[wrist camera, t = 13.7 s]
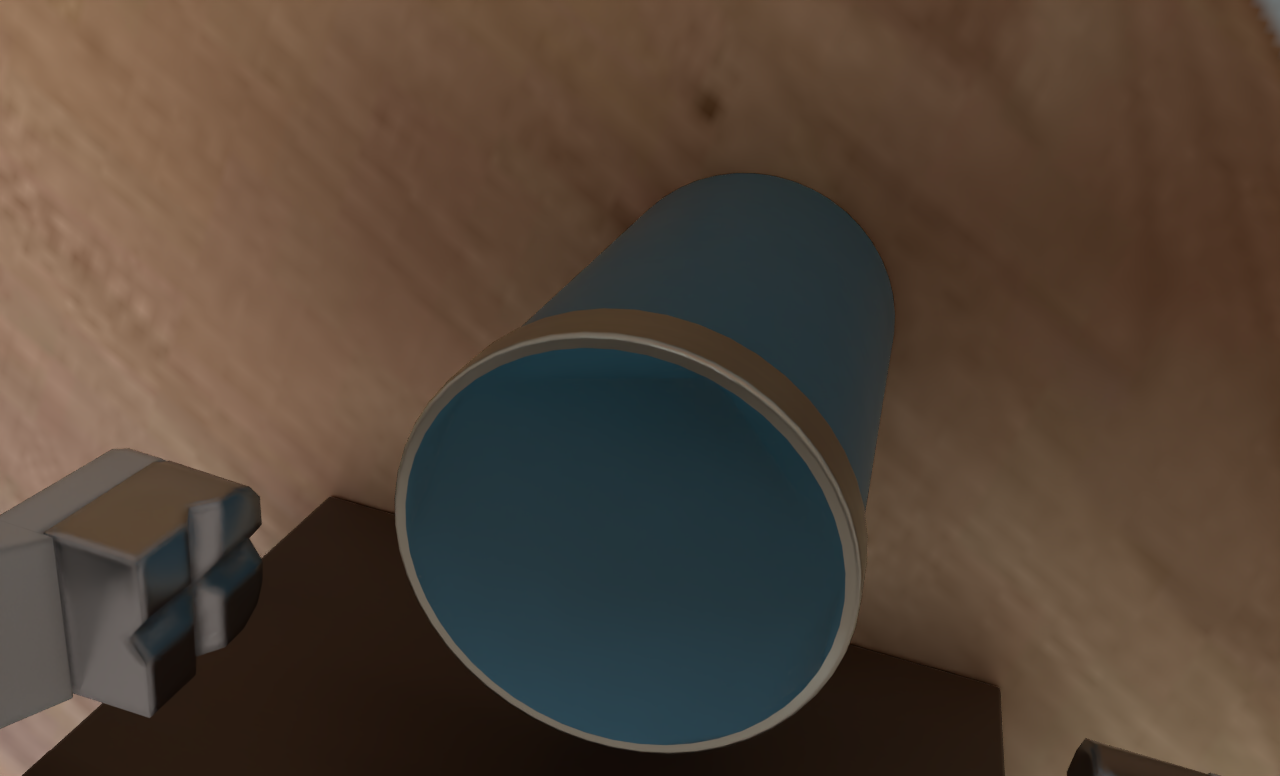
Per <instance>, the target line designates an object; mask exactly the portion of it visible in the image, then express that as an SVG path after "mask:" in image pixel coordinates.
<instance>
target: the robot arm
mask: <svg viewBox="0 0 1280 776" xmlns="http://www.w3.org/2000/svg"><path fill="white" fill-rule="evenodd" d="M261 525H262V522H261V508H260V497H259V496H258V495H257V494H256V493H255V492H254V491H253V490H252V489H251V488H250V487H249V486H246V485H243V484H240V483H236V482H233V481H230V480H227V479H224V478H221V477H218V476H215V475H212V474H209V473H206V472H203V471H200V470H197V469H194V468H190V467H187V466H184V465H181V464H178V463H175V462H172V461H166V460H163V459H161V458H158V457H155V456H152V455H149V454H145V453H142V452H139V451H136V450H133V449H129V448H127V449H112V450H110V451H108V452H107V453H105V454H103V455H101V456H100V457H98V458H96V459H95V460H93V461H91V462H90V463H88V464H86V465H84V466H83V467H81V468H79V469H78V470H76V471H74V472H73V473H71V474H69V475H67V476H66V477H64V478H62V479H61V480H59V481H57V482H56V483H54V484H52V485H51V486H49V487H47V488H45V489H44V490H42V491H40V492H39V493H37V494H35V495H34V496H32V497H30V498H28V499H27V500H25V501H23V502H22V503H20V504H18V505H17V506H15V507H13V508H11V509H10V510H8V511H6V512H5V513H3V514H1V515H0V729H1V728H3V727H6V726H8V725H10V724H13V723H15V722H17V721H20V720H22V719H24V718H27V717H29V716H31V715H34V714H36V713H38V712H41V711H43V710H45V709H48V708H50V707H52V706H55V705H57V704H60V703H62V702H64V701H67V700H69V699H71V698H72V697H73V693H74V694H77V695H80V696H83V697H86V698H90V699H93V700H96V701H99V702H102V703H105V704H108V705H111V706H114V707H117V708H120V709H123V710H127V711H130V712H133V713H136V714H139V715H142V716H145V717H148V718H151V717H152V716H153V715H154V714H155V713H156V712H157V711H158V710H159V709H160V708H161V707H162V706H163V705H164V704H165V703H167V702H168V701H169V700H170V699H171V698H172V697H173V696H174V695H175V694H176V693H177V692H178V691H179V690H180V689H181V688H183V687H184V686H185V685H186V684H187V683H188V682H189V681H190V680H191V679H192V678H193V677H194V676H195V675H196V669H197V656H200V655H203V654H206V653H209V652H212V651H215V650H218V649H221V648H224V647H226V646H227V645H228V644H229V643H230V642H231V641H232V640H233V639H234V638H235V637H236V636H237V635H238V634H239V633H240V632H241V631H242V630H243V629H244V627H245V626H246V624H247V622H248V620H249V618H250V617H251V615H252V613H253V611H254V609H255V607H256V606H257V604H258V600H259V596H260V591H261V587H262V582H263V561H262V559H261V558H260V556H259V554H258V553H257V551H256V549H255V548H254V546H253V544H252V543H251V541H250V539H249V538H250V537H251V536H252V535H253V534H254V532H255V531H256V530H257V529H258V528H259V527H260V526H261ZM1067 776H1220V775H1217V774H1213V773H1208V774H1205V773H1202V772H1199V771H1195V770H1192V769H1189V768H1185V767H1182V766H1178V765H1175V764H1172V763H1168V762H1165V761H1161V760H1158V759H1155V758H1151V757H1148V756H1145V755H1141V754H1138V753H1134V752H1131V751H1128V750H1124V749H1121V748H1117V747H1114V746H1111V745H1107V744H1104V743H1101V742H1097V741H1094V740H1090V739H1087V738H1085V739H1084V741H1083V742H1082V743H1081V745H1080V746H1079V747H1078V749H1077V750H1076V752H1075V755H1074V757H1073V759H1072V761H1071V764H1070V766H1069V768H1068V771H1067Z"/></svg>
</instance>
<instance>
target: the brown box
mask: <svg viewBox="0 0 1280 776" xmlns="http://www.w3.org/2000/svg"><path fill="white" fill-rule="evenodd" d="M262 561H263V582H262V587H261V591H260V596H259V600H258V604H257V606H256V607H255V609H254V611H253V613H252V615H251V617H250V618H249V620H248V622H247V624H246V626H245V627H244V629H243V630H242V631H241V632H240V633H239V634H238V635H237V636H236V637H235V638H234V639H233V640H232V641H231V642H230V643H229V644H228V645H227V646H226V647H224V648H221V649H218V650H215V651H212V652H209V653H206V654H203V655H200V656H197V669H196V675H195V676H194V677H193V678H192V679H191V680H190V681H189V682H188V683H187V684H186V685H185V686H184V687H183V688H181V689H180V690H179V691H178V692H177V693H176V694H175V695H174V696H173V697H172V698H171V699H170V700H169V701H168V702H167V703H165V704H164V705H163V706H162V707H161V708H160V709H159V710H158V711H157V712H156V713H155V714H154V715H153V716H152V717H151V718H148V717H145V716H142V715H139V714H136V713H133V712H130V711H127V710H123V709H120V708H117V707H114V706H111V705H108V704H105V703H102V704H101V705H100V706H99V707H98V708H97V709H96V710H94V711H93V712H92V713H91V714H90V715H89V716H88V717H87V718H86V719H85V720H83V721H82V722H81V723H80V724H79V725H78V726H77V727H76V728H75V729H74V730H72V731H71V732H70V733H69V734H68V735H67V736H66V737H65V738H64V739H63V740H61V741H60V742H59V743H58V744H57V745H56V746H55V747H54V748H53V749H52V750H50V751H48V752H47V753H46V754H45V755H44V756H43V757H42V758H41V759H40V760H38V761H37V762H36V763H35V764H34V765H33V766H32V767H31V768H30V769H29V770H27V771H26V772H25V773H24V774H23V775H22V776H1005V768H1004V749H1003V730H1002V711H1001V692H1000V688H999V687H997V686H993V685H990V684H986V683H983V682H979V681H976V680H972V679H969V678H965V677H962V676H958V675H955V674H951V673H948V672H944V671H941V670H937V669H933V668H930V667H926V666H923V665H919V664H916V663H912V662H909V661H905V660H902V659H898V658H895V657H891V656H888V655H884V654H881V653H877V652H874V651H870V650H867V649H863V648H860V647H856V646H853V645H849V646H848V649H847V651H846V653H845V655H844V657H843V658H842V660H841V662H840V664H839V665H838V667H837V669H836V670H835V672H834V674H833V675H832V676H831V678H830V679H829V680H828V681H827V683H826V684H825V685H824V686H823V687H822V689H821V690H820V691H819V692H818V694H817V695H816V696H815V697H813V698H812V699H811V700H810V701H809V702H808V703H807V704H806V705H804V706H803V707H802V708H801V709H800V710H799V711H798V712H797V713H795V714H794V715H793V716H791V717H790V718H788V719H786V720H785V721H783V722H782V723H780V724H779V725H777V726H776V727H774V728H773V729H770V730H768V731H766V732H764V733H762V734H760V735H758V736H755V737H753V738H751V739H749V740H746V741H743V742H739V743H736V744H733V745H730V746H727V747H723V748H718V749H712V750H707V751H701V752H694V753H678V754H659V753H641V752H634V751H628V750H622V749H615V748H611V747H607V746H603V745H599V744H596V743H592V742H588V741H585V740H582V739H579V738H577V737H574V736H571V735H569V734H566V733H563V732H561V731H558V730H556V729H554V728H552V727H550V726H548V725H546V724H544V723H542V722H540V721H538V720H536V719H534V718H532V717H530V716H529V715H527V714H525V713H524V712H522V711H521V710H519V709H517V708H516V707H514V706H512V705H511V704H509V703H508V702H506V701H505V700H504V699H502V698H501V697H500V696H498V695H497V694H496V693H495V692H493V691H492V690H491V689H489V688H488V687H487V686H485V685H484V684H483V683H482V682H481V681H480V680H479V679H478V678H477V677H476V676H475V675H473V674H472V673H471V672H470V671H469V670H468V669H467V668H466V667H465V666H464V665H463V664H462V663H461V662H460V660H459V659H458V658H457V657H456V656H455V655H454V654H453V653H452V651H451V650H450V649H449V648H448V647H447V646H446V644H445V643H444V642H443V640H442V639H441V637H440V636H439V635H438V633H437V632H436V630H435V629H434V628H433V626H432V625H431V623H430V622H429V620H428V618H427V616H426V615H425V613H424V611H423V609H422V608H421V606H420V604H419V602H418V601H417V598H416V596H415V594H414V591H413V589H412V587H411V584H410V582H409V580H408V577H407V575H406V571H405V568H404V564H403V561H402V558H401V554H400V551H399V545H398V539H397V533H396V526H395V515H394V514H390V513H387V512H383V511H380V510H376V509H372V508H369V507H365V506H362V505H358V504H355V503H351V502H348V501H344V500H341V499H337V498H334V497H329V498H328V499H326V500H325V501H324V502H323V503H322V504H321V505H320V506H319V507H318V508H317V509H315V510H314V511H313V512H312V513H311V514H310V515H309V516H308V517H307V518H306V519H304V520H303V521H302V522H301V523H300V524H299V525H298V526H297V527H296V528H295V529H293V530H292V531H291V532H290V533H289V534H288V535H287V536H286V537H285V538H284V539H282V540H281V541H280V542H279V543H278V544H277V545H276V546H275V547H274V548H273V549H271V550H270V551H269V552H268V553H267V554H266V555H265V556H264V557H263V558H262Z"/></svg>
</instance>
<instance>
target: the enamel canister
mask: <svg viewBox="0 0 1280 776" xmlns="http://www.w3.org/2000/svg"><path fill="white" fill-rule="evenodd" d="M894 324H895V310H894V299H893V293H892V289H891V285H890V281H889V277H888V274H887V272H886V269H885V267H884V264H883V262H882V259H881V257H880V255H879V254H878V252H877V250H876V248H875V247H874V245H873V243H872V241H871V240H870V239H869V237H868V236H867V235H866V233H865V232H864V231H863V230H862V228H861V227H860V226H859V225H858V224H857V223H856V222H855V221H854V220H853V219H852V218H851V217H850V216H849V215H848V214H847V213H846V212H845V211H844V210H843V209H841V208H840V207H839V206H838V205H836V204H835V203H834V202H832V201H831V200H830V199H828V198H826V197H825V196H823V195H821V194H820V193H818V192H816V191H814V190H813V189H810V188H808V187H806V186H803V185H801V184H799V183H796V182H794V181H790V180H787V179H783V178H779V177H776V176H770V175H763V174H755V173H733V174H725V175H718V176H713V177H709V178H705V179H702V180H698V181H695V182H693V183H690V184H688V185H686V186H683V187H681V188H679V189H677V190H675V191H674V192H672V193H670V194H669V195H667V196H665V197H664V198H662V199H661V200H660V201H659V202H657V203H656V204H655V205H654V206H652V207H651V208H650V209H649V210H648V211H646V212H645V213H644V214H643V215H642V216H641V217H640V218H639V219H638V220H637V221H636V222H635V223H633V224H632V225H631V226H630V227H629V228H628V229H627V230H626V231H625V232H624V233H623V234H621V235H620V236H619V237H618V238H617V239H616V240H615V241H614V242H613V243H612V244H611V245H609V246H608V247H607V248H606V249H605V250H604V251H603V252H602V253H601V254H600V255H599V256H598V257H596V258H595V259H594V260H593V261H592V262H591V263H590V264H589V265H588V266H587V267H586V268H584V269H583V270H582V271H581V272H580V273H579V274H578V275H577V276H576V277H575V278H574V279H573V280H571V281H570V282H569V283H568V284H567V285H566V286H565V287H564V288H563V289H562V290H561V291H559V292H558V293H557V294H556V295H555V296H554V297H553V298H552V299H551V300H550V301H549V302H548V303H546V304H545V305H544V306H543V307H542V308H541V309H540V310H539V311H538V312H537V313H536V314H534V315H533V316H532V317H531V318H530V319H529V320H528V321H527V322H526V323H525V324H524V325H522V326H521V327H519V328H517V329H516V330H514V331H512V332H510V333H508V334H507V335H505V336H503V337H501V338H500V339H498V340H496V341H494V342H493V343H492V344H491V345H489V346H488V347H487V348H486V349H484V350H483V351H482V352H481V353H479V354H478V355H477V356H475V357H474V358H473V359H472V360H471V361H470V362H469V363H467V364H466V365H465V366H464V367H463V368H462V369H461V370H460V371H458V372H457V373H456V374H455V375H454V376H453V377H452V378H451V379H450V380H448V381H447V382H446V384H445V385H444V386H443V387H442V388H441V389H440V390H439V391H438V392H437V393H436V394H435V396H434V397H433V398H432V399H431V400H430V401H429V403H428V404H427V406H426V407H425V409H424V410H423V412H422V413H421V415H420V416H419V418H418V419H417V421H416V422H415V424H414V427H413V429H412V431H411V433H410V436H409V438H408V440H407V442H406V444H405V447H404V451H403V454H402V458H401V462H400V465H399V469H398V474H397V483H396V491H395V526H396V533H397V539H398V545H399V551H400V554H401V558H402V561H403V564H404V568H405V571H406V575H407V577H408V580H409V582H410V584H411V587H412V589H413V591H414V594H415V596H416V598H417V601H418V602H419V604H420V606H421V608H422V609H423V611H424V613H425V615H426V616H427V618H428V620H429V622H430V623H431V625H432V626H433V628H434V629H435V630H436V632H437V633H438V635H439V636H440V637H441V639H442V640H443V642H444V643H445V644H446V646H447V647H448V648H449V649H450V650H451V651H452V653H453V654H454V655H455V656H456V657H457V658H458V659H459V660H460V662H461V663H462V664H463V665H464V666H465V667H466V668H467V669H468V670H469V671H470V672H471V673H472V674H473V675H475V676H476V677H477V678H478V679H479V680H480V681H481V682H482V683H483V684H484V685H485V686H487V687H488V688H489V689H491V690H492V691H493V692H495V693H496V694H497V695H498V696H500V697H501V698H502V699H504V700H505V701H506V702H508V703H509V704H511V705H512V706H514V707H516V708H517V709H519V710H521V711H522V712H524V713H525V714H527V715H529V716H530V717H532V718H534V719H536V720H538V721H540V722H542V723H544V724H546V725H548V726H550V727H552V728H554V729H556V730H558V731H561V732H563V733H566V734H569V735H571V736H574V737H577V738H579V739H582V740H585V741H588V742H592V743H596V744H599V745H603V746H607V747H611V748H615V749H622V750H628V751H634V752H641V753H659V754H678V753H694V752H701V751H707V750H712V749H718V748H723V747H727V746H730V745H733V744H736V743H739V742H743V741H746V740H749V739H751V738H753V737H755V736H758V735H760V734H762V733H764V732H766V731H768V730H770V729H773V728H774V727H776V726H777V725H779V724H780V723H782V722H783V721H785V720H786V719H788V718H790V717H791V716H793V715H794V714H795V713H797V712H798V711H799V710H800V709H801V708H802V707H803V706H804V705H806V704H807V703H808V702H809V701H810V700H811V699H812V698H813V697H815V696H816V695H817V694H818V692H819V691H820V690H821V689H822V687H823V686H824V685H825V684H826V683H827V681H828V680H829V679H830V678H831V676H832V675H833V674H834V672H835V670H836V669H837V667H838V665H839V664H840V662H841V660H842V658H843V657H844V655H845V653H846V651H847V649H848V646H849V643H850V641H851V638H852V636H853V633H854V630H855V628H856V624H857V619H858V614H859V609H860V604H861V599H862V592H863V585H864V578H865V571H866V565H867V541H868V535H867V526H866V517H865V510H866V504H867V498H868V492H869V486H870V479H871V473H872V467H873V461H874V455H875V448H876V442H877V436H878V430H879V424H880V417H881V411H882V405H883V399H884V393H885V386H886V380H887V374H888V368H889V362H890V355H891V349H892V343H893V337H894Z"/></svg>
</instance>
